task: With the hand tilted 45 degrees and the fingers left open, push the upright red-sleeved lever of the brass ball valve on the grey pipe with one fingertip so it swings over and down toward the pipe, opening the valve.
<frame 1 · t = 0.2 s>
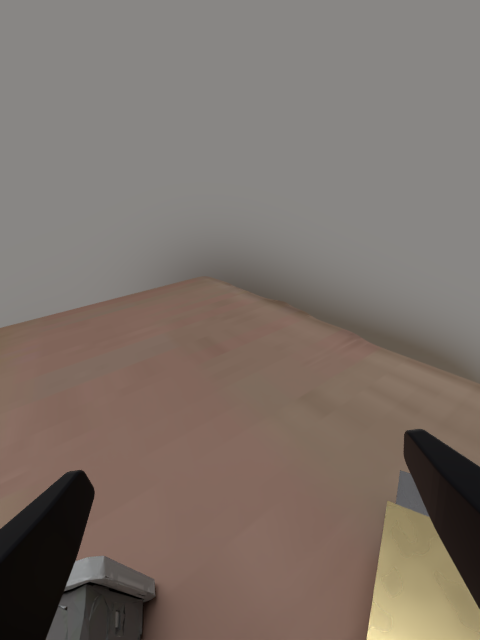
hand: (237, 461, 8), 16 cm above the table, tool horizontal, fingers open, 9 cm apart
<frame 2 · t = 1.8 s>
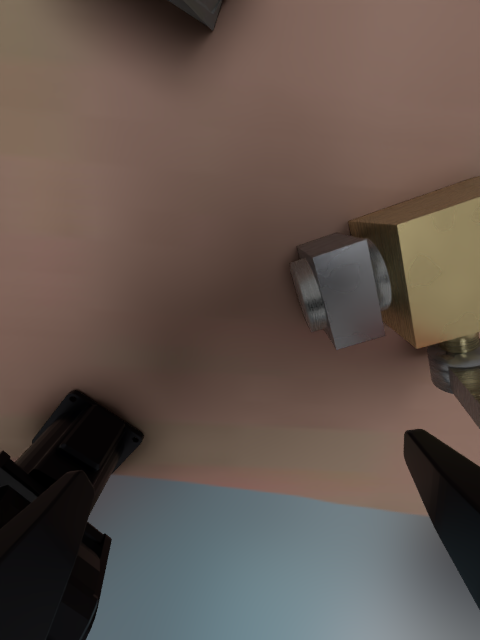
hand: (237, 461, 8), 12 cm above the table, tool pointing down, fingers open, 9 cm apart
valve: (416, 247, 17), on the table
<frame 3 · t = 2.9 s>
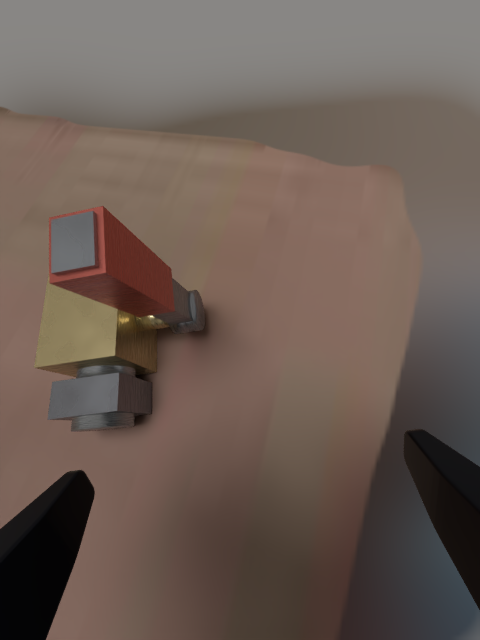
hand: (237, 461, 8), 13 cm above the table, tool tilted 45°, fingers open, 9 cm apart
valve: (126, 336, 25), on the table
lever: (156, 293, 16), point 8 cm above the table, hinge at -10.0°
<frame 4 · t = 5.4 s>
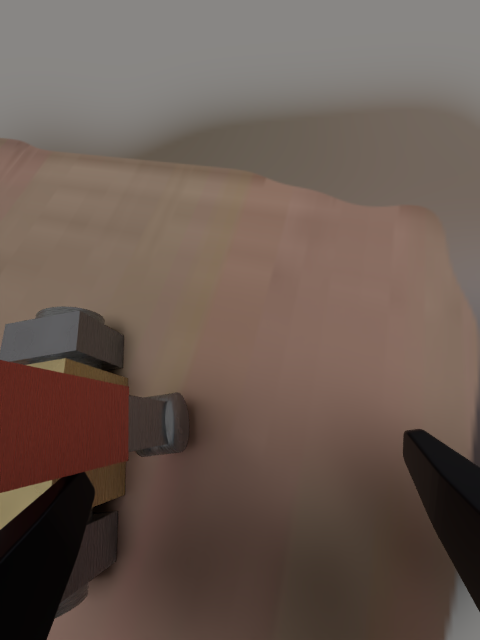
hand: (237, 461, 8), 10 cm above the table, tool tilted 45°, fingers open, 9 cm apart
valve: (86, 437, 19), on the table
lever: (103, 425, 11), point 8 cm above the table, hinge at -1.9°, touching gripper
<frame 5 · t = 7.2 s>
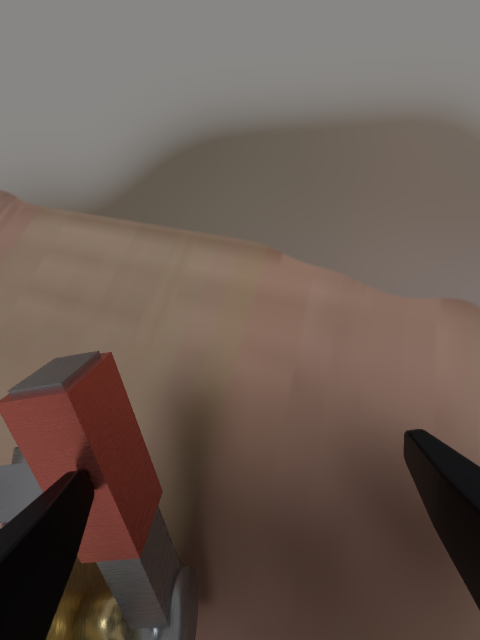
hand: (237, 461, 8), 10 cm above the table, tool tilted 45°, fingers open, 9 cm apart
valve: (74, 588, 16), on the table
lever: (127, 526, 11), point 6 cm above the table, hinge at 50.1°
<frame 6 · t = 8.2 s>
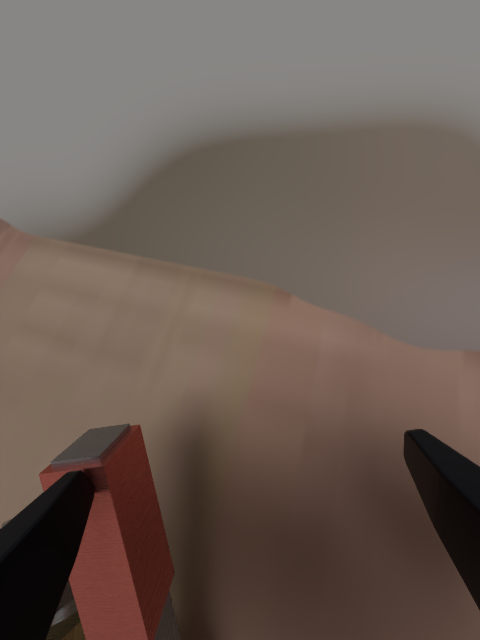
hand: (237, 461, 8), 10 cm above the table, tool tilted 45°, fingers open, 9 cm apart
lever: (137, 611, 11), point 6 cm above the table, hinge at 61.5°
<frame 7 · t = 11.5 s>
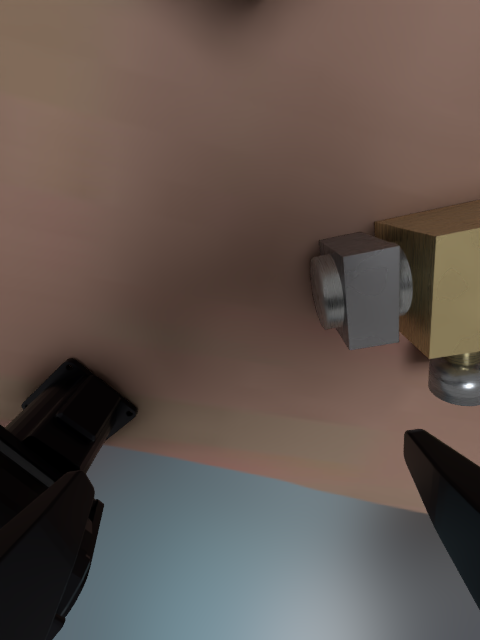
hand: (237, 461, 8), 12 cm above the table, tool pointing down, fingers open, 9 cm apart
valve: (435, 257, 17), on the table
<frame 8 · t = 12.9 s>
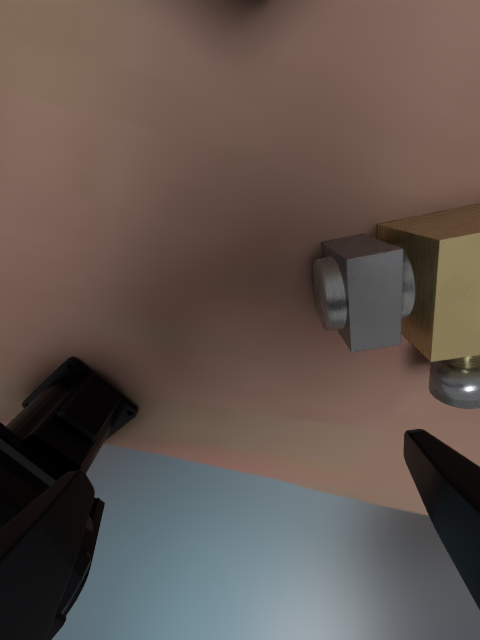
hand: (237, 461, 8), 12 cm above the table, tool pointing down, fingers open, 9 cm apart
valve: (437, 260, 17), on the table
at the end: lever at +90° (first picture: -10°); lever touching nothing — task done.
